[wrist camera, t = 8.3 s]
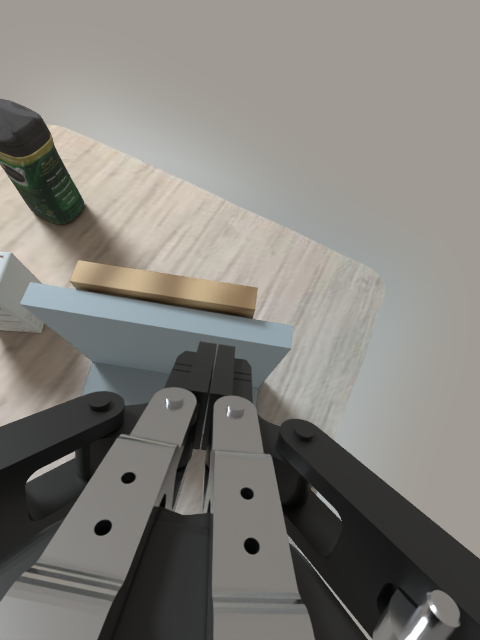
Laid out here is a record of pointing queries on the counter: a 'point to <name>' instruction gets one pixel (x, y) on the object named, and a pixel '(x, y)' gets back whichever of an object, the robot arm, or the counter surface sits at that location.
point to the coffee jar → (36, 165)
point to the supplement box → (16, 296)
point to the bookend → (149, 338)
